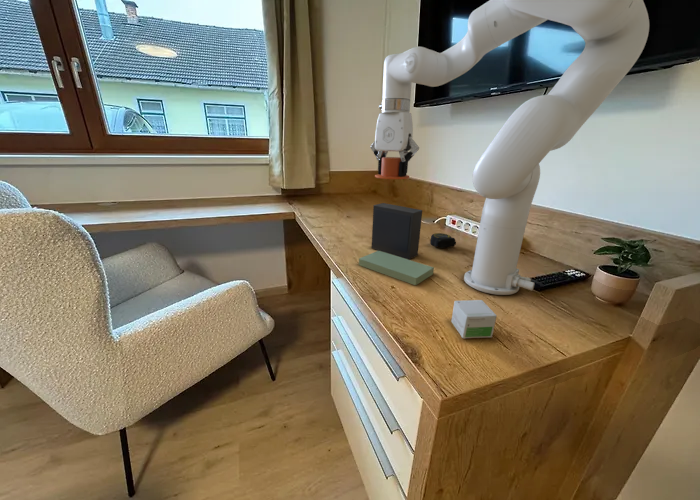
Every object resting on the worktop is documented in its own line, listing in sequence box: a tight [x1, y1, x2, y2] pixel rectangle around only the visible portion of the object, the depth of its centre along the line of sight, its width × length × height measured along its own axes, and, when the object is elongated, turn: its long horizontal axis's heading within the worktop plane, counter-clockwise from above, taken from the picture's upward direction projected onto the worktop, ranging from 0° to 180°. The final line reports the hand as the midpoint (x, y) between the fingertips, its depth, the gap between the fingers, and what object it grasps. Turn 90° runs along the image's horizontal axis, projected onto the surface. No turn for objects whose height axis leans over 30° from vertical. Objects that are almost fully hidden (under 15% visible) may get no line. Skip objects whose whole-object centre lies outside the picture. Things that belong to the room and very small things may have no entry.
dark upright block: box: [370, 202, 423, 260], centre depth 94 cm, size 14×5×14 cm, turn 49°
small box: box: [450, 299, 497, 340], centre depth 57 cm, size 6×6×5 cm
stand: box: [358, 250, 435, 286], centre depth 83 cm, size 18×9×2 cm, turn 49°
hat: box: [374, 156, 410, 180], centre depth 89 cm, size 10×10×6 cm
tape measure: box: [429, 232, 457, 249], centre depth 102 cm, size 7×7×4 cm
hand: (392, 174), depth 90 cm, fingers closed on hat, 6 cm apart
